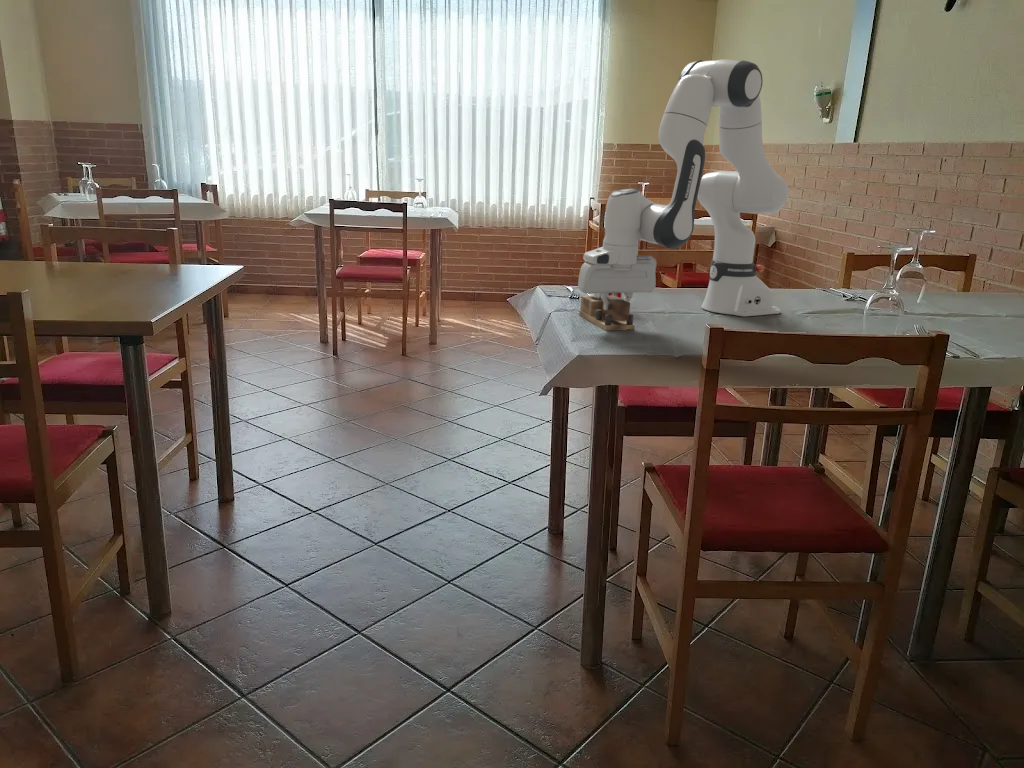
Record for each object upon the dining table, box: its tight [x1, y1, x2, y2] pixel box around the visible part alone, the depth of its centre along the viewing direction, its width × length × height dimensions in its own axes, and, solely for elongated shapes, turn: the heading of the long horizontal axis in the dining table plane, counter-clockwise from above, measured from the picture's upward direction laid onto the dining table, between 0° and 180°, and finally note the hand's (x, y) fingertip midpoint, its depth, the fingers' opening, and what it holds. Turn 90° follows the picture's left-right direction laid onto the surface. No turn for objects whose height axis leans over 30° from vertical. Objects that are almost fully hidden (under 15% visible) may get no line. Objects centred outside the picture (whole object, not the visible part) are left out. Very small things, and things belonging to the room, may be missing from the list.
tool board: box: [578, 295, 636, 331], centre depth 204 cm, size 8×18×5 cm, turn 17°
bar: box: [602, 295, 631, 321], centre depth 198 cm, size 3×10×4 cm, turn 17°
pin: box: [593, 293, 602, 300], centre depth 208 cm, size 3×3×9 cm
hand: (615, 309), depth 199 cm, fingers closed on bar, 3 cm apart
